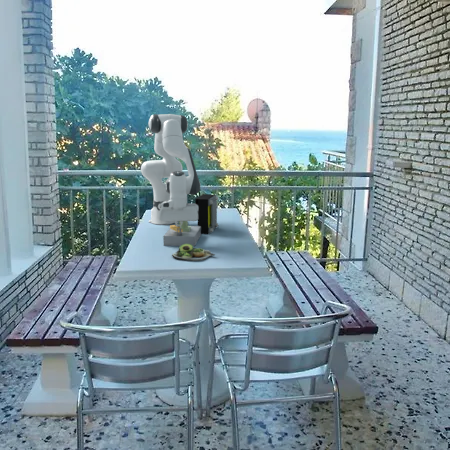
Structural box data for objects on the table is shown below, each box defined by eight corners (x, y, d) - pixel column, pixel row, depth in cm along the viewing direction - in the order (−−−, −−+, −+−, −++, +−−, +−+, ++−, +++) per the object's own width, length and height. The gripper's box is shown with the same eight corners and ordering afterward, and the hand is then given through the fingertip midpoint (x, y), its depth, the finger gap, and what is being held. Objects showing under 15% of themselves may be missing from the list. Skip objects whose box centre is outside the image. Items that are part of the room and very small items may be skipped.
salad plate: (221, 253, 222) (221, 244, 221) (206, 264, 206) (206, 254, 205) (185, 249, 229) (185, 240, 228) (168, 259, 213) (167, 249, 212)
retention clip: (169, 231, 244) (169, 225, 243) (174, 230, 245) (174, 225, 244) (178, 235, 234) (178, 229, 233) (182, 235, 235) (182, 229, 235)
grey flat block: (172, 234, 259) (172, 225, 258) (201, 235, 258) (200, 226, 257) (163, 245, 236) (163, 235, 235) (194, 246, 234) (194, 236, 233)
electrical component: (212, 234, 259) (211, 199, 255) (194, 233, 261) (194, 198, 257) (218, 227, 276) (218, 194, 271) (202, 227, 278) (201, 194, 273)
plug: (178, 234, 252) (178, 214, 250) (191, 234, 251) (190, 215, 249) (176, 237, 245) (175, 217, 243) (189, 237, 245) (188, 217, 242)
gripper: (199, 202, 241) (199, 228, 244) (160, 202, 242) (161, 227, 245) (197, 204, 235) (198, 230, 238) (158, 204, 236) (158, 230, 239)
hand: (179, 229), depth 242 cm, fingers closed
